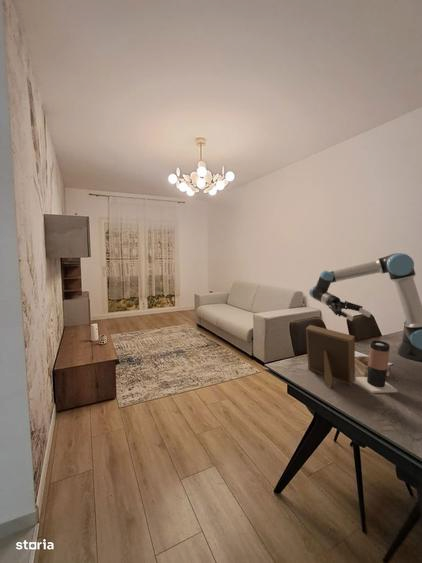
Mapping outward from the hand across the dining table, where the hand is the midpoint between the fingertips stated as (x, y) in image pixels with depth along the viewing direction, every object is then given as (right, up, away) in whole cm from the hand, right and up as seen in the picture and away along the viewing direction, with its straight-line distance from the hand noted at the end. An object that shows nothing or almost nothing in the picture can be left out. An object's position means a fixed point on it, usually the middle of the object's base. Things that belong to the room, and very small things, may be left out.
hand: (361, 316), depth 139 cm
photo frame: (-25, -30, -11) cm, 40 cm away
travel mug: (-3, -30, -17) cm, 34 cm away
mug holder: (+3, -28, -2) cm, 29 cm away
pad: (-3, -30, -17) cm, 35 cm away
